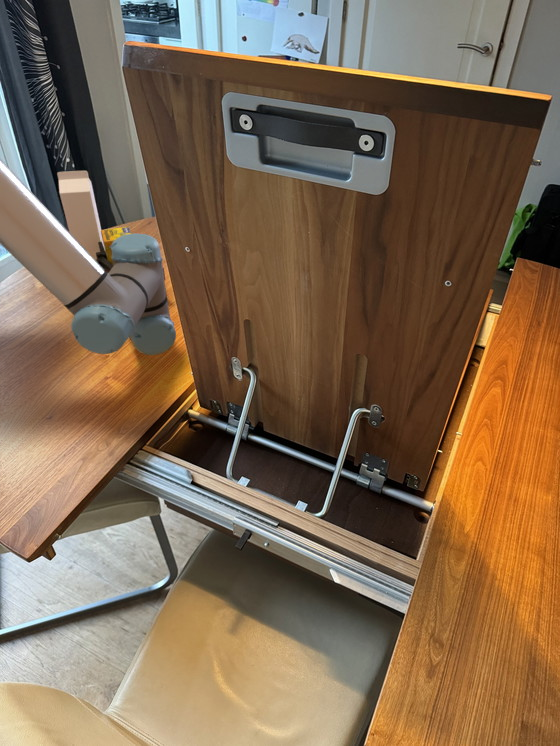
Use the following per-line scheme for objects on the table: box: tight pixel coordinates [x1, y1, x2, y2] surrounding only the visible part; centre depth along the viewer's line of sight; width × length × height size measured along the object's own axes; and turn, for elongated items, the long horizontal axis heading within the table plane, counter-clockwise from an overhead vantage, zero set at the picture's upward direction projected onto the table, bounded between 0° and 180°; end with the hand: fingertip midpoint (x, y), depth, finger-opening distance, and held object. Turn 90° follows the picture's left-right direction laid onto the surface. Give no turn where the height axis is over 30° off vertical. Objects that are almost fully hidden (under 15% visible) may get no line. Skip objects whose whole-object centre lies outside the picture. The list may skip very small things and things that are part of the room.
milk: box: [56, 170, 105, 260], centre depth 112 cm, size 6×6×22 cm
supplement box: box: [101, 226, 132, 265], centre depth 110 cm, size 6×6×11 cm
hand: (116, 245), depth 114 cm, fingers closed on supplement box, 6 cm apart
